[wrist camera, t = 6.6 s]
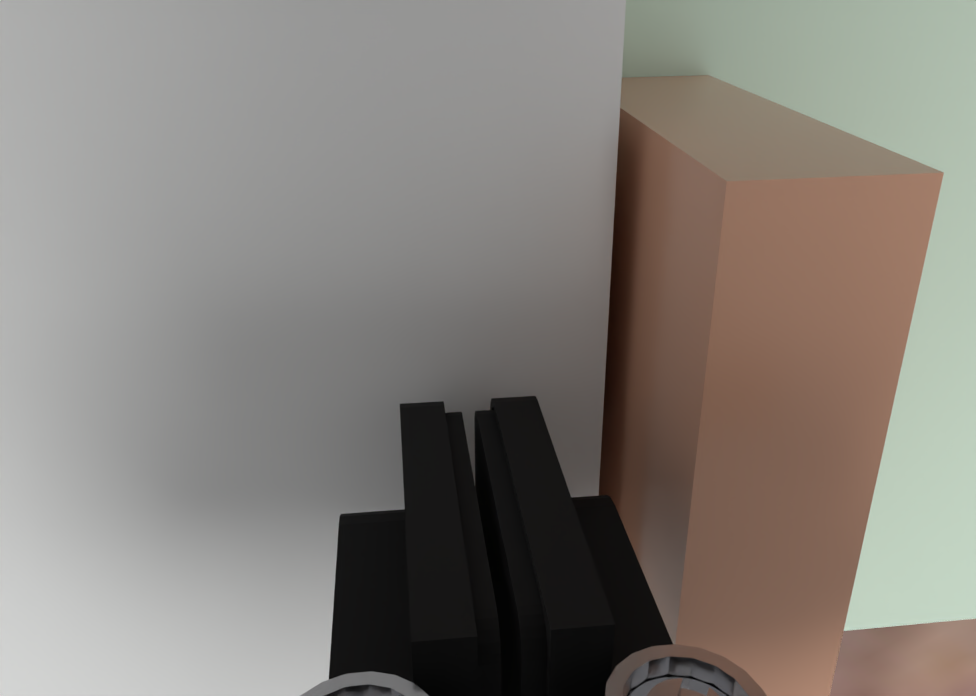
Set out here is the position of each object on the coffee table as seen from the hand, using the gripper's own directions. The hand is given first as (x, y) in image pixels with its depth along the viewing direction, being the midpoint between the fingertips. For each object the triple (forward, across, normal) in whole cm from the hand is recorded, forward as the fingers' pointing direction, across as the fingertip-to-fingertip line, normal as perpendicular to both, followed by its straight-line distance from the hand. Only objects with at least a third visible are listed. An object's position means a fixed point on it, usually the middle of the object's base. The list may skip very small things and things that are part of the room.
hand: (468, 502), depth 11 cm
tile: (+1, -2, 0) cm, 2 cm away
